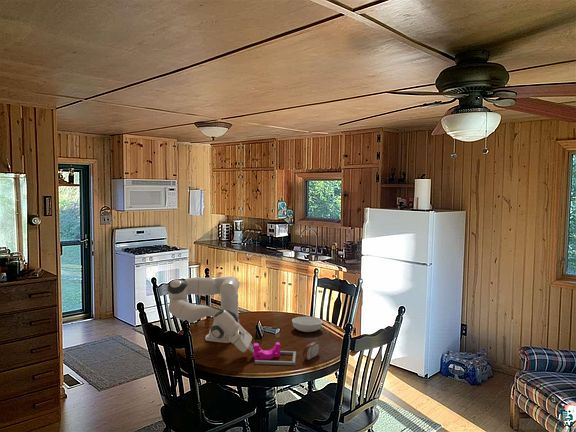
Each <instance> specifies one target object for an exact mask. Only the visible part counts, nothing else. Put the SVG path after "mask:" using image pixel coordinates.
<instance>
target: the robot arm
mask: <svg viewBox="0 0 576 432" xmlns="http://www.w3.org/2000/svg"><path fill="white" fill-rule="evenodd" d="M239 289H240V281H239V279H238V278H237V277H235V276H219V277H199V276H198V277H188V278H186V279H181V278H180V279H179V278H175V279H172V280H171V281H169V282H168V284H167V293H168V299H169V301H170V302H169V304H168V312H169V313H170V314H171V315H173V316H174V317H175V318H176V319H179V320H180V321H183V322H184V321H185V320H187V321H188V322H189V323H188V324H190V323H191V324H192V323H194V322H197V321H198V320H201V319H202V318H205V317H212V318H213V323H212V325H211V327H210V328H209V332H208V334H206V335H205V339H204V340H205V341H206V342H215V343H225V344H229V343H231V344H234V346H235V347H236V348H237V349H238V350H239V351H241V352H242V353H245V352H246V351H247V350H249V351H250V352H251V353H253V352H254V351H255V349H254V344H252V339H253V336H252V335H251V334H250V333H249V332H248V330H246V329H245V328H244V327H243V326H242V325H241V324H240V317H239V297H238V293H239V292H238V291H239ZM189 295H197V296H199V295H200V296H214V295H220V297H219V298H220V308H218V307H216V306H215V307H214V306H211V305H207V304H196V303H195V304H194V303H190V302H189V300H188V296H189Z"/></svg>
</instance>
